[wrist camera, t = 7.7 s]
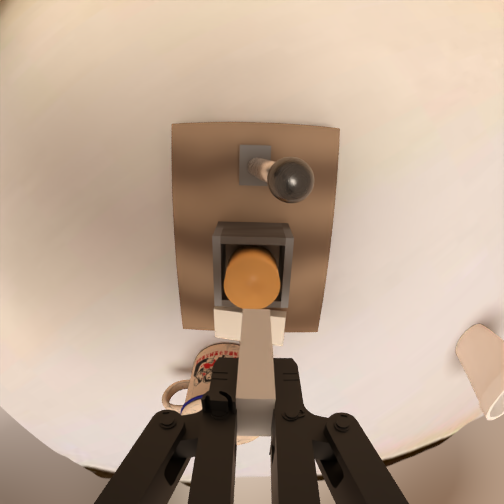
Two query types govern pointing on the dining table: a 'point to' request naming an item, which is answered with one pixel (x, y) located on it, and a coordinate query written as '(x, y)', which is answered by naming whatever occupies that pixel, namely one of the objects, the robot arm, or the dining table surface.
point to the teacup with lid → (201, 382)
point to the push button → (252, 278)
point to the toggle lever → (284, 177)
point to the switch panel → (250, 215)
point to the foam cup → (484, 367)
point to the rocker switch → (231, 321)
